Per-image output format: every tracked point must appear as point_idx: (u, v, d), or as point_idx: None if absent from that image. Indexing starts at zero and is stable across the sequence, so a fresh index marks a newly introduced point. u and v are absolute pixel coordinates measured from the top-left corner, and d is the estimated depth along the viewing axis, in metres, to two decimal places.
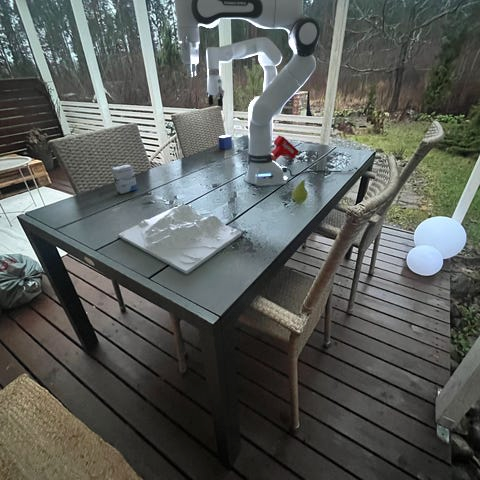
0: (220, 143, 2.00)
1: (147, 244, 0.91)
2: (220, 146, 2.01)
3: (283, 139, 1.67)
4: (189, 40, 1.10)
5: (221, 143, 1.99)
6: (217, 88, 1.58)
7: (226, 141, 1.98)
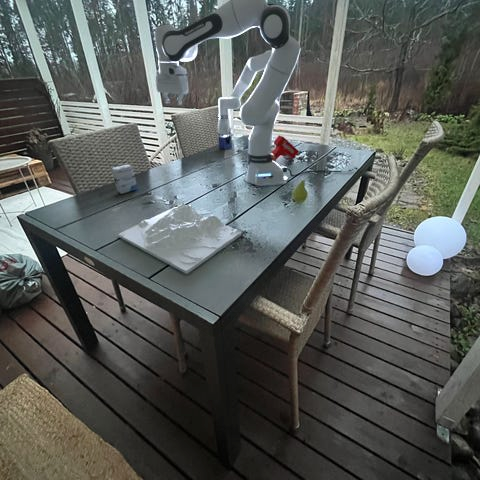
0: (220, 143, 2.00)
1: (147, 244, 0.91)
2: (220, 146, 2.01)
3: (283, 139, 1.67)
4: None
5: (221, 143, 1.99)
6: None
7: (226, 141, 1.98)
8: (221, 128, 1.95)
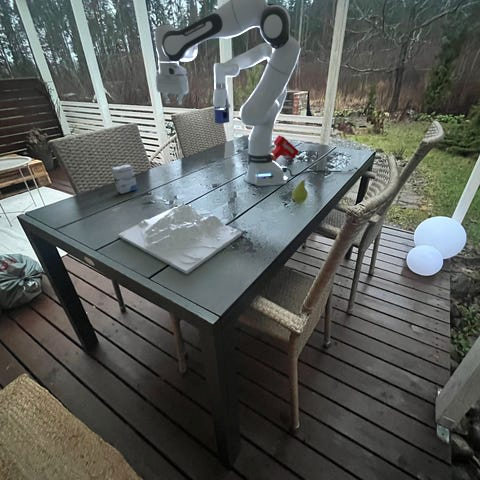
0: (216, 117, 1.77)
1: (147, 244, 0.91)
2: (216, 120, 1.78)
3: (283, 139, 1.67)
4: None
5: (217, 117, 1.76)
6: None
7: (222, 115, 1.76)
8: (217, 99, 1.72)
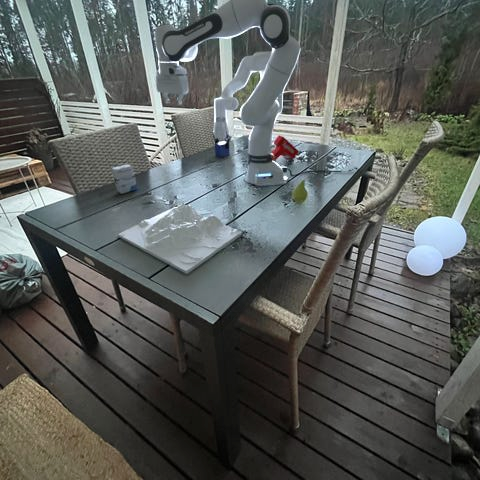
0: (216, 151, 1.82)
1: (147, 244, 0.91)
2: (216, 154, 1.83)
3: (283, 139, 1.67)
4: None
5: (218, 151, 1.81)
6: None
7: (223, 149, 1.81)
8: (217, 132, 1.76)
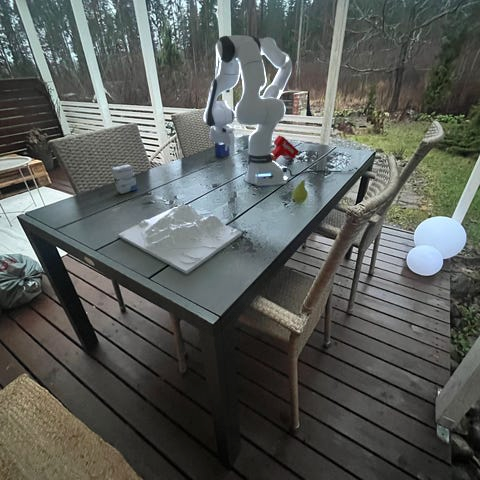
0: (216, 151, 1.82)
1: (147, 244, 0.91)
2: (216, 154, 1.83)
3: (283, 139, 1.67)
4: None
5: (218, 151, 1.81)
6: None
7: (223, 149, 1.81)
8: None
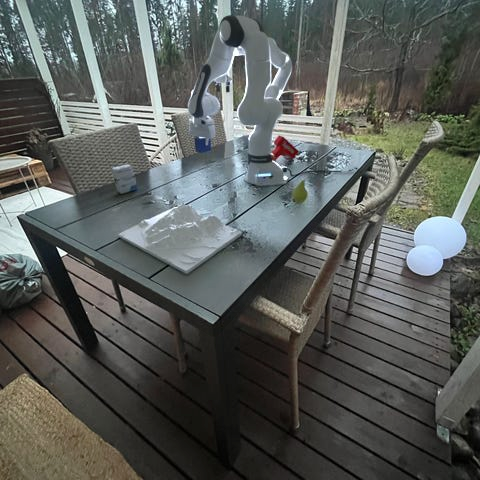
0: (196, 145, 1.65)
1: (147, 244, 0.91)
2: (196, 149, 1.66)
3: (283, 139, 1.67)
4: None
5: (198, 146, 1.64)
6: None
7: (203, 143, 1.63)
8: None
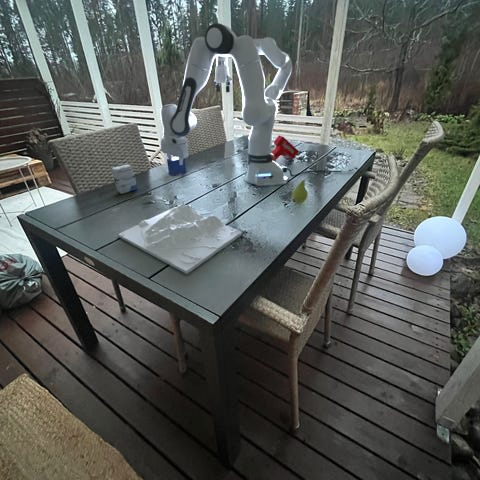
0: (169, 167, 1.52)
1: (147, 244, 0.91)
2: (170, 171, 1.54)
3: (283, 139, 1.67)
4: None
5: (171, 168, 1.52)
6: None
7: (176, 165, 1.51)
8: (219, 76, 1.91)
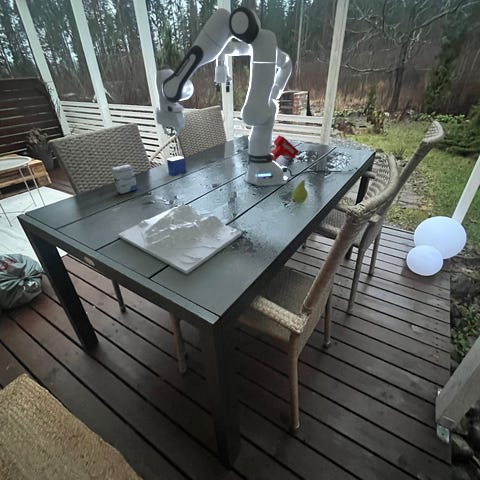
0: (169, 167, 1.52)
1: (147, 244, 0.91)
2: (170, 171, 1.54)
3: (283, 139, 1.67)
4: None
5: (171, 168, 1.52)
6: None
7: (176, 165, 1.51)
8: (219, 76, 1.91)
